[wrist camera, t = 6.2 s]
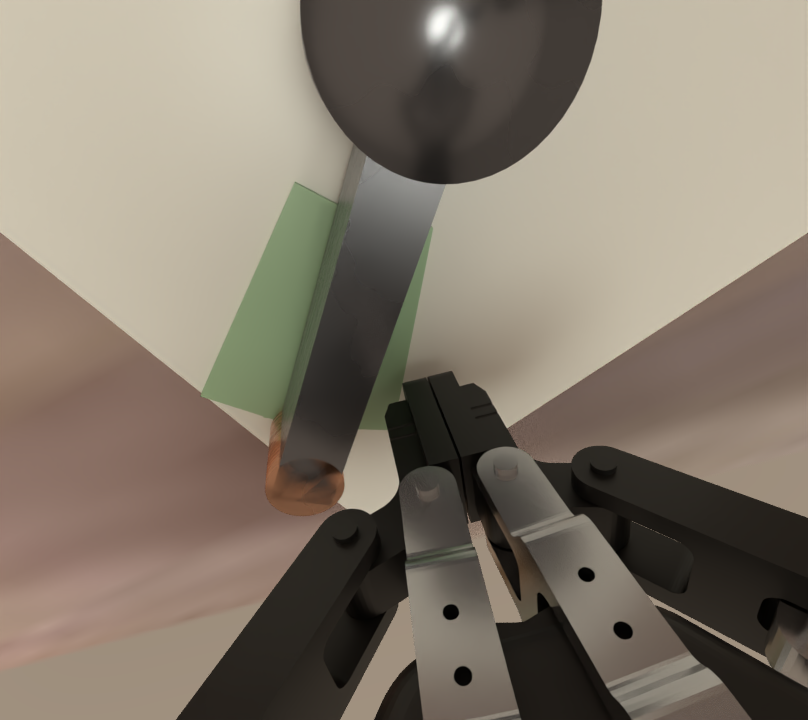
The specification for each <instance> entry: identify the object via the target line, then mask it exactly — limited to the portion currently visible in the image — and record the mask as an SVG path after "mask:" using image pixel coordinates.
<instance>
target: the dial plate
mask: <svg viewBox="0 0 808 720" xmlns="http://www.w3.org/2000/svg"><path fill="white" fill-rule="evenodd" d="M353 144H354V143H353V142H352V141H351V140H350V139H349V138H348V137H347V136H346V135H345V134H344V132H343V131H342V130H341V128H340V127H339V126H338V124H337V123H336V122H335V121H334V119H333V117H332V116H331V114H330V113H329V111H328V110H327V108H326V106H325V105H324V103H323V101H322V100H321V98H320V96H319V94H318V92H317V90H316V88H315V86H314V83H313V81H312V79H311V76H310V73H309V70H308V66H307V63H306V60H305V55H304V50H303V45H302V37H301V25H300V0H0V232H1V233H2V234H3V235H4V236H6V237H7V238H8V239H9V240H11V241H12V242H13V243H14V244H16V245H17V246H18V247H19V248H21V249H22V250H23V251H24V252H26V253H27V254H28V255H29V256H31V257H32V258H33V259H34V260H36V261H37V262H38V263H39V264H41V265H42V266H43V267H44V268H46V269H47V270H48V271H49V272H51V273H52V274H53V275H54V276H56V277H57V278H58V279H59V280H61V281H62V282H63V283H64V284H66V285H67V286H68V287H69V288H71V289H72V290H73V291H74V292H76V293H77V294H78V295H79V296H81V297H82V298H83V299H84V300H86V301H87V302H88V303H89V304H91V305H92V306H93V307H94V308H96V309H97V310H98V311H99V312H101V313H102V314H103V315H104V316H106V317H107V318H108V319H109V320H111V321H112V322H113V323H114V324H116V325H117V326H118V327H119V328H121V329H122V330H123V331H124V332H126V333H127V334H128V335H129V336H131V337H132V338H133V339H134V340H136V341H137V342H138V343H139V344H141V345H142V346H143V347H144V348H146V349H147V350H148V351H149V352H151V353H152V354H153V355H154V356H156V357H157V358H158V359H159V360H161V361H162V362H163V363H164V364H166V365H167V366H168V367H169V368H171V369H172V370H173V371H174V372H176V373H177V374H178V375H179V376H181V377H182V378H183V379H184V380H186V381H187V382H188V383H189V384H191V385H192V386H193V387H194V388H196V389H197V390H198V391H199V392H201V397H204V398H207V399H209V400H211V401H212V402H213V403H214V404H216V405H217V406H218V407H219V408H221V409H222V410H223V411H224V412H226V413H227V414H228V415H229V416H231V417H232V418H233V419H234V420H236V421H237V422H238V423H239V424H241V425H242V426H243V427H244V428H246V429H247V430H248V431H249V432H251V433H252V434H253V435H254V436H256V437H257V438H258V439H259V440H261V441H262V442H263V443H264V444H266V445H267V446H268V447H269V439H270V428H271V424H272V421H273V419H274V418H275V416H276V415H277V414H278V413H279V412H280V411H282V409H283V405H284V402H285V398H286V394H287V390H288V387H289V383H290V379H291V375H292V372H293V368H294V364H295V361H296V357H297V353H298V349H299V346H300V342H301V338H302V334H303V331H304V327H305V323H306V319H307V316H308V312H309V308H310V304H311V301H312V297H313V293H314V290H315V286H316V282H317V278H318V275H319V271H320V267H321V263H322V260H323V256H324V252H325V248H326V245H327V241H328V237H329V233H330V230H331V226H332V222H333V219H334V215H335V211H336V207H337V204H338V200H339V196H340V192H341V189H342V185H343V181H344V177H345V174H346V170H347V166H348V163H349V159H350V155H351V151H352V148H353ZM807 233H808V0H602V11H601V19H600V25H599V31H598V37H597V41H596V45H595V48H594V52H593V56H592V59H591V62H590V65H589V68H588V70H587V73H586V75H585V78H584V81H583V83H582V85H581V87H580V89H579V91H578V93H577V95H576V97H575V99H574V101H573V102H572V104H571V105H570V107H569V109H568V110H567V112H566V113H565V115H564V116H563V118H562V119H561V120H560V122H559V123H558V124H557V126H556V127H555V128H554V129H553V131H552V132H551V133H550V134H549V135H548V136H547V137H546V138H545V139H544V140H543V141H542V142H541V143H540V144H539V145H538V146H537V147H536V148H535V149H534V150H533V151H531V152H530V153H529V154H528V155H526V156H525V157H524V158H523V159H521V160H520V161H518V162H516V163H515V164H513V165H512V166H510V167H508V168H507V169H505V170H502V171H500V172H498V173H496V174H494V175H492V176H489V177H486V178H483V179H479V180H476V181H472V182H466V183H460V184H446V186H445V188H444V191H443V194H442V197H441V200H440V202H439V205H438V208H437V211H436V214H435V216H434V219H433V222H432V225H431V227H430V230H429V233H428V236H427V239H426V241H425V244H424V247H423V250H422V253H421V255H420V258H419V261H418V264H417V267H416V269H415V272H414V275H413V278H412V281H411V283H410V286H409V289H408V292H407V294H406V297H405V300H404V303H403V306H402V308H401V311H400V314H399V317H398V320H397V322H396V325H395V328H394V331H393V334H392V336H391V339H390V342H389V345H388V348H387V350H386V353H385V356H384V359H383V361H382V364H381V367H380V370H379V373H378V375H377V378H376V381H375V384H374V387H373V389H372V392H371V395H370V398H369V401H368V403H367V406H366V409H365V412H364V415H363V417H362V420H361V423H360V426H359V429H358V431H357V434H356V437H355V440H354V442H353V445H352V448H351V451H350V454H349V456H348V459H347V462H346V465H345V468H344V470H343V474H344V484H345V486H344V492H343V494H342V496H341V498H340V499H339V501H338V503H339V504H341V505H342V506H343V507H344V508H346V509H360V510H363V511H365V512H367V513H369V514H372V513H373V512H375V511H377V510H379V509H380V508H382V507H384V506H385V505H386V504H387V503H389V502H390V501H391V500H392V498H393V497H394V496H395V494H396V492H397V490H398V487H399V477H398V473H397V468H396V464H395V460H394V456H393V451H392V447H391V443H390V438H389V434H388V430H387V426H386V421H385V417H384V416H385V413H386V411H387V408H388V405H389V404H391V403H395V402H399V401H403V400H405V396H404V391H403V386H402V383H404V382H408V381H412V380H416V379H420V378H424V377H426V378H427V377H428V376H432V375H436V374H440V373H444V372H448V371H452V372H453V374H454V376H455V378H456V380H457V382H458V384H459V386H462V385H466V384H470V383H474V384H476V385H477V386H479V387H480V388H482V389H483V390H485V391H486V392H487V394H488V396H489V398H490V399H491V401H492V404H493V405H494V407H495V408H496V410H497V413H498V414H499V415H500V417H501V419H502V421H503V422H504V424H505V426H506V428H508V427H510V426H511V425H513V424H514V423H516V422H518V421H519V420H521V419H522V418H524V417H525V416H527V415H528V414H530V413H531V412H533V411H534V410H536V409H538V408H539V407H541V406H542V405H544V404H545V403H547V402H548V401H550V400H551V399H553V398H554V397H556V396H558V395H559V394H561V393H562V392H564V391H565V390H567V389H568V388H570V387H571V386H573V385H574V384H576V383H577V382H579V381H581V380H582V379H584V378H585V377H587V376H588V375H590V374H591V373H593V372H594V371H596V370H597V369H599V368H601V367H602V366H604V365H605V364H607V363H608V362H610V361H611V360H613V359H614V358H616V357H617V356H619V355H621V354H622V353H624V352H625V351H627V350H628V349H630V348H631V347H633V346H634V345H636V344H637V343H639V342H641V341H642V340H644V339H645V338H647V337H648V336H650V335H651V334H653V333H654V332H656V331H657V330H659V329H660V328H662V327H664V326H665V325H667V324H668V323H670V322H671V321H673V320H674V319H676V318H677V317H679V316H680V315H682V314H684V313H685V312H687V311H688V310H690V309H691V308H693V307H694V306H696V305H697V304H699V303H700V302H702V301H704V300H705V299H707V298H708V297H710V296H711V295H713V294H714V293H716V292H717V291H719V290H720V289H722V288H724V287H725V286H727V285H728V284H730V283H731V282H733V281H734V280H736V279H737V278H739V277H740V276H742V275H743V274H745V273H747V272H748V271H750V270H751V269H753V268H754V267H756V266H757V265H759V264H760V263H762V262H763V261H765V260H767V259H768V258H770V257H771V256H773V255H774V254H776V253H777V252H779V251H780V250H782V249H783V248H785V247H787V246H788V245H790V244H791V243H793V242H794V241H796V240H797V239H799V238H800V237H802V236H803V235H805V234H807ZM427 380H428V379H427Z"/></svg>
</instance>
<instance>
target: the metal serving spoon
mask: <svg viewBox="0 0 808 720" xmlns="http://www.w3.org/2000/svg"><path fill="white" fill-rule="evenodd" d="M601 11H602V0H300V25H301V37H302V45H303V50H304V55H305V60H306V63H307V66H308V70H309V73H310V76H311V79H312V81H313V83H314V86H315V88H316V90H317V92H318V94H319V96H320V98H321V100H322V101H323V103H324V105H325V106H326V108H327V110H328V111H329V113H330V114H331V116H332V117H333V119H334V121H335V122H336V123H337V124H338V126H339V127H340V128H341V130H342V131H343V132H344V134H345V135H346V136H347V137H348V138H349V139H350V140H351V141H352V142H353V143H354V144H353V148H352V151H351V155H350V159H349V163H348V166H347V170H346V174H345V177H344V181H343V185H342V189H341V192H340V196H339V200H338V204H337V207H336V211H335V215H334V219H333V222H332V226H331V230H330V233H329V237H328V241H327V245H326V248H325V252H324V256H323V260H322V263H321V267H320V271H319V275H318V278H317V282H316V286H315V290H314V293H313V297H312V301H311V304H310V308H309V312H308V316H307V319H306V323H305V327H304V331H303V334H302V338H301V342H300V346H299V349H298V353H297V357H296V361H295V364H294V368H293V372H292V375H291V379H290V383H289V387H288V390H287V394H286V398H285V402H284V405H283V409H282V411H280V412H279V413H278V414H277V415H276V416H275V418H274V419H273V421H272V424H271V428H270V439H269V451H268V462H267V474H266V486H265V492H266V496H267V499H268V500H269V502H270V503H271V504H272V506H274V507H275V508H276V509H278V510H279V511H281V512H283V513H286V514H289V515H295V516H309V515H315V514H318V513H321V512H324V511H326V510H328V509H329V508H331V507H332V506H334V505H335V504H336V503H337V502H338V501H339V499H340V498H341V496H342V494H343V492H344V486H345V484H344V474H343V470H344V468H345V465H346V462H347V459H348V456H349V454H350V451H351V448H352V445H353V442H354V440H355V437H356V434H357V431H358V429H359V426H360V423H361V420H362V417H363V415H364V412H365V409H366V406H367V403H368V401H369V398H370V395H371V392H372V389H373V387H374V384H375V381H376V378H377V375H378V373H379V370H380V367H381V364H382V361H383V359H384V356H385V353H386V350H387V348H388V345H389V342H390V339H391V336H392V334H393V331H394V328H395V325H396V322H397V320H398V317H399V314H400V311H401V308H402V306H403V303H404V300H405V297H406V294H407V292H408V289H409V286H410V283H411V281H412V278H413V275H414V272H415V269H416V267H417V264H418V261H419V258H420V255H421V253H422V250H423V247H424V244H425V241H426V239H427V236H428V233H429V230H430V227H431V225H432V222H433V219H434V216H435V214H436V211H437V208H438V205H439V202H440V200H441V197H442V194H443V191H444V188H445V186H446V184H460V183H466V182H472V181H476V180H479V179H483V178H486V177H489V176H492V175H494V174H496V173H498V172H500V171H502V170H505V169H507V168H508V167H510V166H512V165H513V164H515V163H516V162H518V161H520V160H521V159H523V158H524V157H525V156H526V155H528V154H529V153H530V152H531V151H533V150H534V149H535V148H536V147H537V146H538V145H539V144H540V143H541V142H542V141H543V140H544V139H545V138H546V137H547V136H548V135H549V134H550V133H551V132H552V131H553V129H554V128H555V127H556V126H557V124H558V123H559V122H560V120H561V119H562V118H563V116H564V115H565V113H566V112H567V110H568V109H569V107H570V105H571V104H572V102H573V101H574V99H575V97H576V95H577V93H578V91H579V89H580V87H581V85H582V83H583V81H584V78H585V75H586V73H587V70H588V68H589V65H590V62H591V59H592V56H593V52H594V48H595V45H596V41H597V37H598V31H599V25H600V19H601Z"/></svg>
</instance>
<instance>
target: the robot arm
mask: <svg viewBox="0 0 808 720" xmlns="http://www.w3.org/2000/svg"><path fill="white" fill-rule="evenodd" d="M427 379H428V380H427ZM402 386H403V391H404V396H405V400H403V401H399V402H395V403H391V404H389V405H388V408H387V411H386V413H385V416H384V417H385V421H386V426H387V430H388V434H389V438H390V443H391V447H392V451H393V456H394V460H395V464H396V468H397V473H398V477H399V487H398V490H397V492H396V494H395V496H394V497H393V498H392V500H391V501H390V502H389V503H387V504H386V505H385V506H384V507H382V508H380V509H379V510H377V511H375V512H373V513H372V514H369V513H367V512H365V511H363V510H360V509H346V510H342V511H339V512H337V513H335V514H333V515H332V516H330V517H329V518H327V519H326V520H325V521H324V522H323V524H322V525H321V526H320V527H319V529H318V530H317V531H316V533H315V534H314V535H313V537H312V538H311V539H310V541H309V542H308V543H307V545H306V546H305V547H304V549H303V550H302V551H301V553H300V554H299V556H298V557H297V558H296V560H295V561H294V562H293V564H292V565H291V566H290V568H289V569H288V570H287V572H286V573H285V574H284V576H283V577H282V578H281V580H280V581H279V582H278V584H277V585H276V586H275V588H274V589H273V590H272V592H271V593H270V594H269V596H268V597H267V598H266V600H265V601H264V602H263V604H262V605H261V606H260V608H259V609H258V611H257V612H256V613H255V615H254V616H253V617H252V619H251V620H250V621H249V623H248V624H247V625H246V627H245V628H244V629H243V631H242V632H241V633H240V635H239V636H238V637H237V639H236V640H235V641H234V643H233V644H232V645H231V647H230V648H229V649H228V651H227V652H226V653H225V655H224V656H223V658H222V659H221V660H220V661H219V663H218V664H217V665H216V667H215V668H214V670H213V671H212V672H211V674H210V675H209V676H208V678H207V679H206V680H205V682H204V683H203V684H202V686H201V687H200V688H199V690H198V691H197V692H196V694H195V695H194V696H193V698H192V699H191V700H190V702H189V703H188V704H187V706H186V707H185V708H184V710H183V711H182V712H181V714H180V715H179V716H178V718H177V719H176V720H340V719H341V717H342V715H343V713H344V711H345V709H346V707H347V705H348V703H349V702H350V700H351V698H352V696H353V694H354V692H355V690H356V688H357V686H358V684H359V683H360V680H361V679H362V677H363V675H364V673H365V671H366V669H367V667H368V665H369V663H370V661H371V660H372V658H373V656H374V654H375V652H376V650H377V648H378V646H379V644H380V642H381V640H382V639H383V636H384V635H385V633H386V631H387V629H388V627H389V625H390V623H391V621H392V620H393V617H394V616H395V614H396V611H397V608H398V603H399V602H401V601H402V600H404V599H405V598H407V597H408V596H409V603H410V611H411V620H412V628H413V637H414V646H415V654H416V659H415V660H414V661H413V662H411V663H410V664H409V665H408V666H407V667H406V668H405V669H404V670H403V671H402V672H401V673H400V674H399V676H398V677H397V678H396V680H395V681H394V682H393V684H392V685H391V687H390V688H389V690H388V692H387V693H386V695H385V697H384V699H383V701H382V703H381V706H380V708H379V710H378V712H377V714H376V717H375V719H374V720H808V518H806V517H804V516H801V515H798V514H795V513H792V512H790V511H787V510H784V509H781V508H778V507H776V506H773V505H770V504H767V503H765V502H762V501H759V500H757V499H754V498H751V497H748V496H745V495H743V494H740V493H737V492H734V491H732V490H729V489H726V488H723V487H720V486H718V485H715V484H712V483H709V482H706V481H704V480H701V479H698V478H696V477H693V476H690V475H687V474H684V473H682V472H679V471H676V470H673V469H671V468H668V467H665V466H662V465H659V464H657V463H654V462H651V461H648V460H646V459H643V458H640V457H637V456H635V455H632V454H629V453H626V452H623V451H621V450H618V449H615V448H612V447H607V446H592V447H587V448H584V449H582V450H580V451H579V452H577V453H576V455H575V456H574V457H573V459H572V463H545V462H540V461H536V460H533V458H532V457H531V456H530V455H529V454H528V453H526V452H525V451H523V450H521V449H518V447H517V446H516V444H515V442H514V440H513V438H512V437H511V435H510V433H509V431H508V430H507V428H506V426H505V424H504V422H503V421H502V419H501V417H500V415H499V414H498V413H497V410H496V408H495V407H494V405H493V404H492V401H491V399H490V398H489V396H488V394H487V392H486V391H485V390H483V389H482V388H480V387H479V386H477V385H476V384H474V383H470V384H466V385H462V386H459V384H458V382H457V380H456V378H455V376H454V374H453V372H452V371H448V372H444V373H440V374H436V375H432V376H428V377H427V378H426V377H424V378H420V379H416V380H412V381H408V382H404V383H402ZM467 513H468V516H469V519H470V521H471V523H472V522H476V521H480V520H481V522H482V525H483V527H484V530H485V535H486V542H487V547H488V549H489V551H490V553H491V555H492V557H493V559H494V562H495V563H496V566H497V568H498V570H499V572H500V574H501V576H502V578H503V580H504V582H505V584H506V586H507V588H508V590H509V593H510V594H511V597H512V599H513V601H514V603H515V605H516V607H517V609H518V612H519V614H520V617H521V620H522V622H518V623H495V620H494V616H493V612H492V609H491V605H490V601H489V597H488V594H487V590H486V586H485V582H484V578H483V575H482V571H481V567H480V564H479V560H478V556H477V552H476V550H475V547H473V545H472V541H471V537H470V533H469V529H468V525H467V524H469V523H468V517H467ZM632 521H633V522H632ZM634 522H636V523H634ZM637 523H638V524H637ZM639 524H640V525H639ZM641 525H642V526H641ZM644 526H645V527H644ZM646 527H647V528H646ZM648 528H649V529H648ZM650 529H652V530H650ZM653 530H654V531H653ZM655 531H656V532H655ZM657 532H658V533H657ZM659 533H660V534H659ZM662 534H663V535H662ZM664 535H665V536H664ZM666 536H667V537H666ZM668 537H669V538H668ZM671 538H672V539H671ZM673 539H674V540H673ZM675 540H676V541H675ZM677 541H678V542H677ZM647 595H649V596H651V597H653V598H655V599H657V600H659V601H661V602H663V603H664V604H666V605H668V606H670V607H672V608H674V609H676V610H678V611H680V612H681V613H683V614H686V615H687V616H689V617H691V618H693V619H695V620H697V621H699V622H701V623H702V624H705V625H706V626H708V627H710V628H712V629H714V630H716V631H718V632H720V633H722V634H723V635H725V636H727V637H729V638H731V639H733V640H735V641H737V642H739V643H741V644H742V645H744V646H746V647H748V648H750V649H752V650H754V651H756V652H758V653H760V654H761V655H763V656H765V657H767V660H768V662H769V664H770V666H771V667H772V668H771V667H769V666H768V665H766V664H764V663H762V662H761V661H759V660H757V659H755V658H753V657H752V656H750V655H748V654H746V653H745V652H743V651H741V650H739V649H738V648H736V647H734V646H732V645H730V644H729V643H727V642H725V641H723V640H722V639H720V638H718V637H716V636H715V635H713V634H711V633H709V632H707V631H706V630H704V629H702V628H700V627H699V626H697V625H695V624H693V623H691V622H689V621H688V620H686V619H684V618H683V617H681V616H679V615H677V614H675V613H673V612H671V611H668V610H666V609H664V608H661V607H658V606H655V605H654V604H653V603H652V601H651V600H650V599H649V597H648V596H647Z"/></svg>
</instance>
